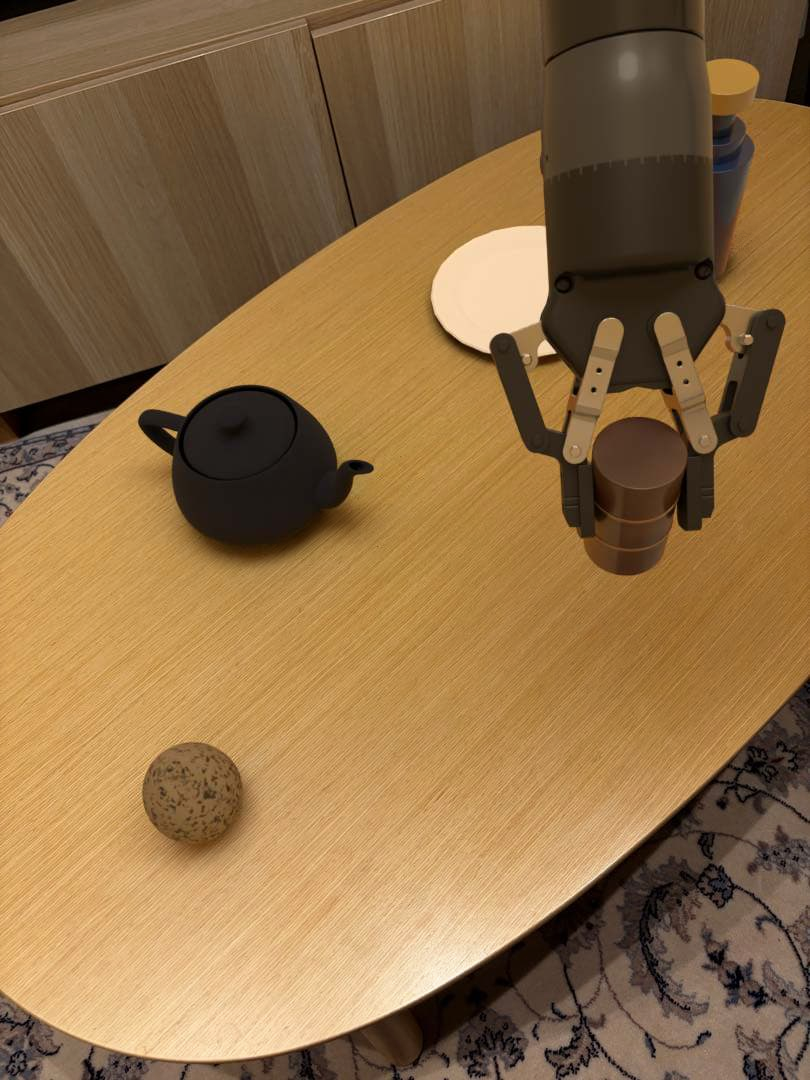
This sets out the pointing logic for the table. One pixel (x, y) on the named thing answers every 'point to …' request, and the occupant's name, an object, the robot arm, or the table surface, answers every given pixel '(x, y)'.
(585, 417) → the robot arm
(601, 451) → the brown ridged cylinder
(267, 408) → the teapot
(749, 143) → the bottle
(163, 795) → the decorative egg
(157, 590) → the table surface
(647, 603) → the table surface
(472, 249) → the plate
